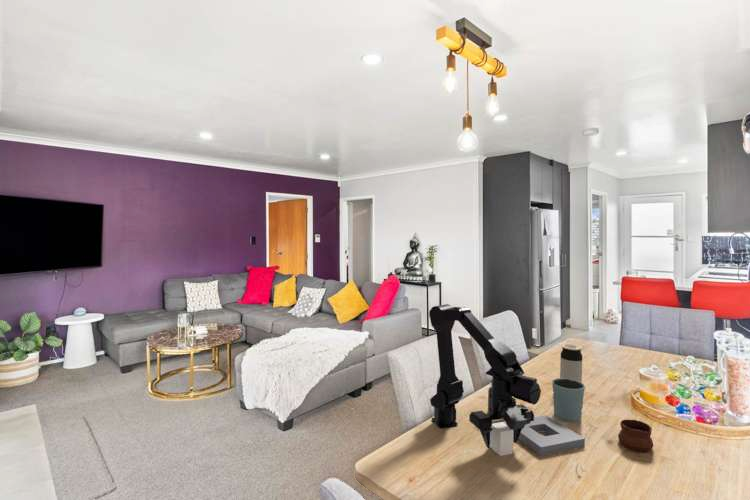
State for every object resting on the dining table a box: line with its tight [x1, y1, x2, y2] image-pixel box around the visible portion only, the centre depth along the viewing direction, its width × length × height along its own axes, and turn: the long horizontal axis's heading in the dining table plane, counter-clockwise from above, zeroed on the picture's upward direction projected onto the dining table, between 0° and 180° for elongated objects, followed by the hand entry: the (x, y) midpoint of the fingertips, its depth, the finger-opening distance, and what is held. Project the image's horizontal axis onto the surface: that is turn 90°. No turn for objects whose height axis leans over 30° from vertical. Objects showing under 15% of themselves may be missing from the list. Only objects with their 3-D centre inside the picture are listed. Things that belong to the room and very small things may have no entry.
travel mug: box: [559, 343, 583, 383], centre depth 161 cm, size 8×8×18 cm
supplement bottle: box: [487, 380, 492, 415], centre depth 139 cm, size 7×7×12 cm
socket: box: [505, 414, 586, 456], centre depth 123 cm, size 16×16×2 cm
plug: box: [489, 421, 514, 457], centre depth 116 cm, size 4×5×7 cm
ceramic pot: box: [617, 419, 654, 464], centre depth 119 cm, size 18×18×7 cm
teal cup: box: [551, 377, 586, 424], centre depth 137 cm, size 10×10×12 cm
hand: (501, 444), depth 116 cm, fingers open, 9 cm apart
